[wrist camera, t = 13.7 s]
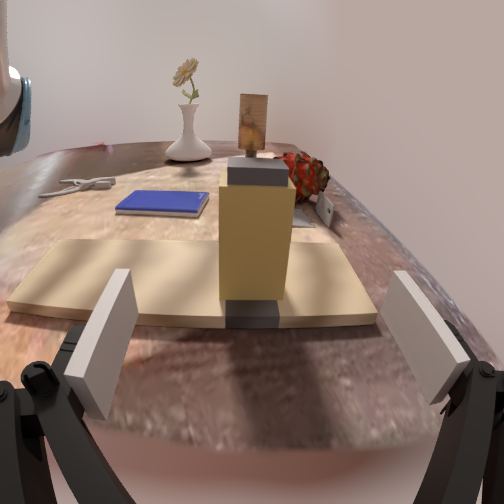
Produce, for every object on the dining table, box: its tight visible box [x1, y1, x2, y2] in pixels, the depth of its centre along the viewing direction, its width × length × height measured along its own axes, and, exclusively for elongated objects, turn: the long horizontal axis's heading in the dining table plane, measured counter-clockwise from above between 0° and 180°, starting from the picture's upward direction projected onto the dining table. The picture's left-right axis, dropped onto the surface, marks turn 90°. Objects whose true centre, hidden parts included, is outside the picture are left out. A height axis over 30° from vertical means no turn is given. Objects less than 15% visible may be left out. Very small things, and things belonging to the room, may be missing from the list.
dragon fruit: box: [273, 151, 330, 202], centre depth 48 cm, size 8×8×12 cm
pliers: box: [38, 177, 116, 197], centre depth 53 cm, size 10×2×15 cm
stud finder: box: [219, 157, 296, 300], centre depth 24 cm, size 5×4×10 cm
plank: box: [6, 239, 378, 329], centre depth 28 cm, size 32×12×1 cm, turn 93°
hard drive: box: [115, 190, 209, 217], centre depth 45 cm, size 2×8×12 cm
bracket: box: [292, 191, 334, 228], centre depth 42 cm, size 7×10×4 cm, turn 95°
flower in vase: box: [165, 58, 212, 161], centre depth 66 cm, size 13×11×25 cm
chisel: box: [238, 94, 268, 158], centre depth 29 cm, size 2×2×15 cm
